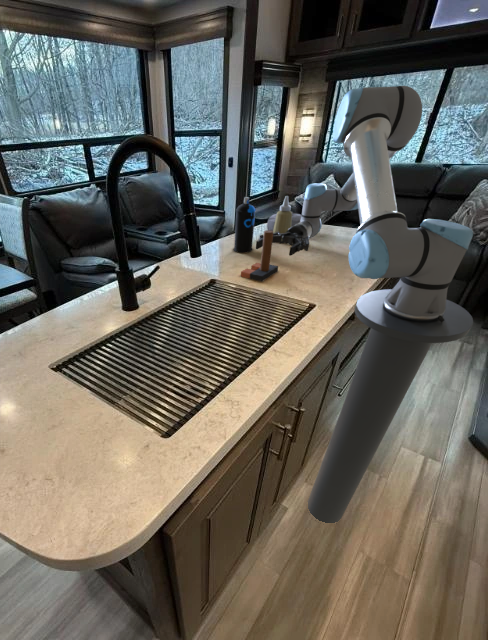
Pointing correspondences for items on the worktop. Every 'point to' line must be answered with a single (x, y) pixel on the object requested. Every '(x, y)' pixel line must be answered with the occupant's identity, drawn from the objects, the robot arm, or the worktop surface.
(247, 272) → the red square block
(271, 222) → the grey oval stone
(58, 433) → the worktop surface
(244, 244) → the aerosol can
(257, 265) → the pink square block
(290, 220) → the squeeze bottle
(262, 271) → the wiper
